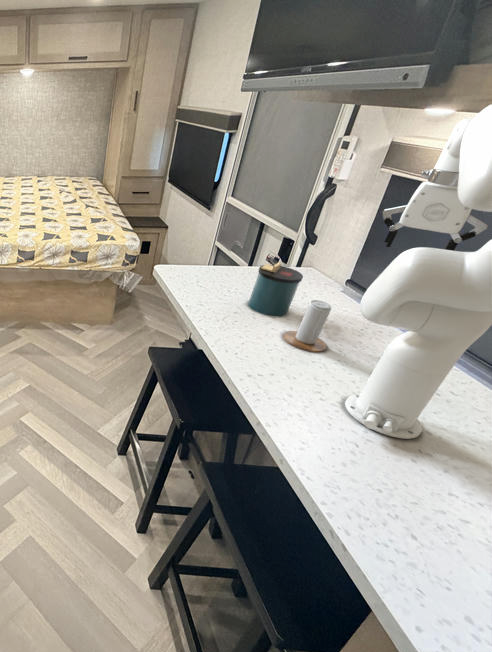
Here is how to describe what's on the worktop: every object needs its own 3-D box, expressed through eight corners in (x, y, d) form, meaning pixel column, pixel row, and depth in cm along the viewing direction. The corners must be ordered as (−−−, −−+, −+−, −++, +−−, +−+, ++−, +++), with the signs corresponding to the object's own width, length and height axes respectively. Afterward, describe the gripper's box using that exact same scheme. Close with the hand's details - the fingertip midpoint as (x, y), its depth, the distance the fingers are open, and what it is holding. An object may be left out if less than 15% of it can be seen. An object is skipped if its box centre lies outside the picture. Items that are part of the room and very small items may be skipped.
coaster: (320, 356, 108) (321, 355, 108) (278, 340, 114) (279, 339, 114) (330, 343, 113) (330, 341, 113) (289, 328, 120) (290, 327, 120)
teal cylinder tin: (281, 321, 124) (296, 283, 118) (241, 307, 132) (253, 271, 126) (293, 309, 131) (308, 272, 125) (254, 296, 139) (266, 261, 132)
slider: (274, 272, 125) (277, 266, 124) (260, 268, 127) (262, 262, 126) (279, 269, 127) (281, 263, 126) (265, 265, 130) (267, 259, 129)
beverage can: (296, 333, 117) (312, 298, 111) (316, 340, 114) (333, 304, 108) (292, 340, 114) (308, 304, 108) (313, 347, 111) (330, 310, 105)
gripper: (398, 175, 91) (365, 245, 100) (513, 188, 80) (466, 265, 88) (402, 171, 96) (371, 238, 104) (512, 182, 85) (467, 257, 93)
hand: (414, 251), depth 96 cm, fingers open, 9 cm apart
